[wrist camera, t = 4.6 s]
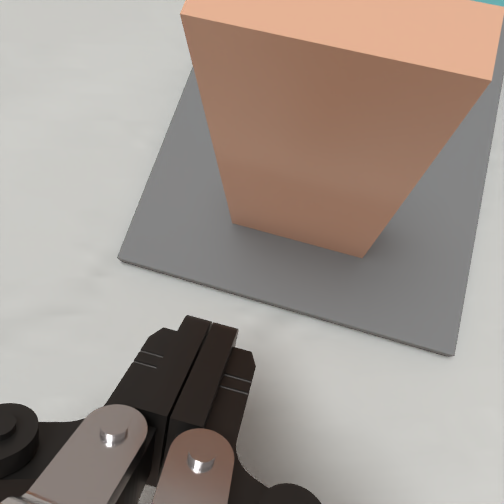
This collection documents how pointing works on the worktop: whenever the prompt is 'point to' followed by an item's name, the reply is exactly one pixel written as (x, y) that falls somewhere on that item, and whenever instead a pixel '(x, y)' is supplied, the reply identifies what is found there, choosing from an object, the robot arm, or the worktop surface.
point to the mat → (317, 258)
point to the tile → (334, 104)
